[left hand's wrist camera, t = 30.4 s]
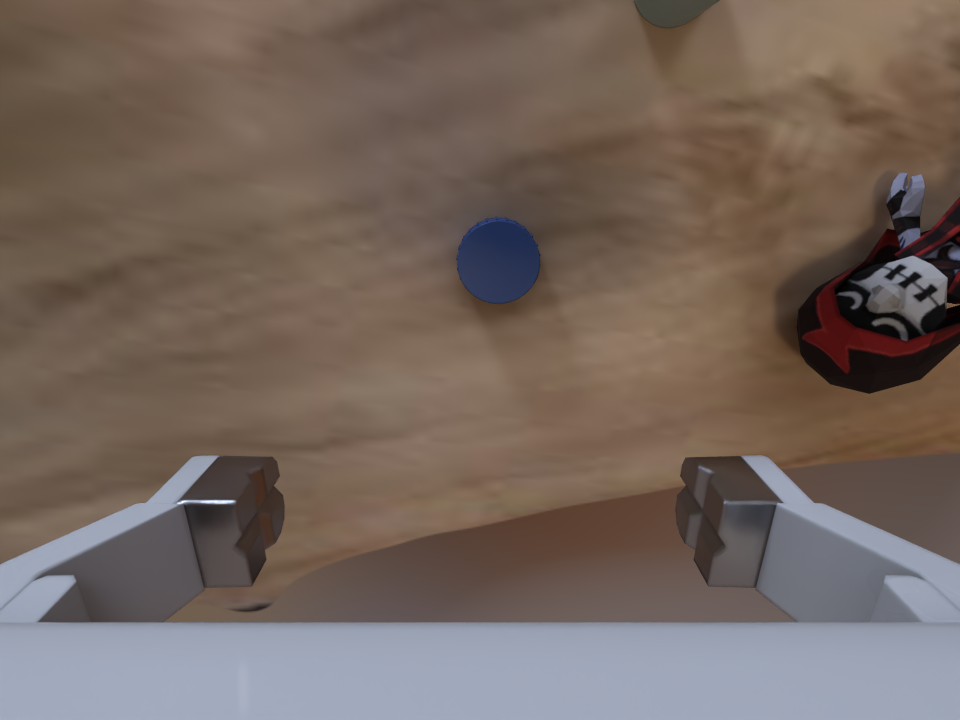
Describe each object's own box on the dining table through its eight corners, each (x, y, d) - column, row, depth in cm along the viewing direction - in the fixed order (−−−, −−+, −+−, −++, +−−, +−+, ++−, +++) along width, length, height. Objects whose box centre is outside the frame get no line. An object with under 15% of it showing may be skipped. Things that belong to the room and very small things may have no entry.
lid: (542, 290, 36) (546, 297, 35) (465, 303, 37) (464, 310, 35) (532, 210, 35) (535, 212, 33) (450, 224, 35) (448, 228, 33)
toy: (1215, 214, 22) (896, 431, 27) (1135, 283, 29) (894, 444, 34) (951, 98, 29) (734, 290, 34) (939, 177, 36) (761, 326, 41)
